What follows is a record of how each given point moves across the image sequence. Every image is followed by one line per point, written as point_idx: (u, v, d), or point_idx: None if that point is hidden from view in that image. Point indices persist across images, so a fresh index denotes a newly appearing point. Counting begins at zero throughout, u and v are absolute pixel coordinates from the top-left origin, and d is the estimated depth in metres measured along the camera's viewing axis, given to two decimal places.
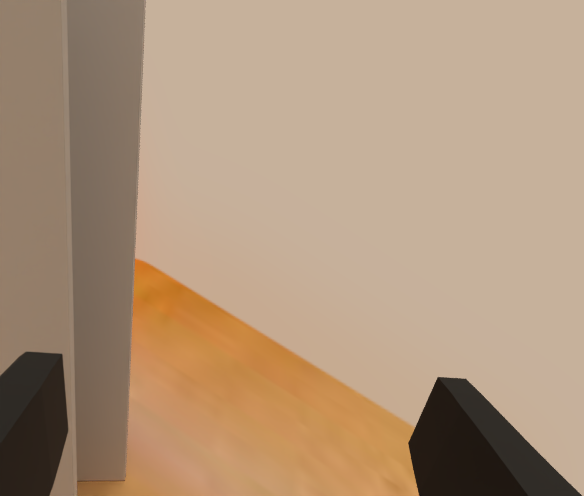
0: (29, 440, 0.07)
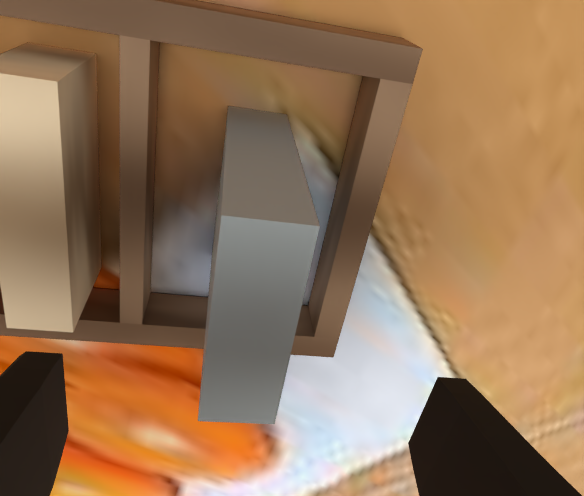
0: (29, 440, 0.07)
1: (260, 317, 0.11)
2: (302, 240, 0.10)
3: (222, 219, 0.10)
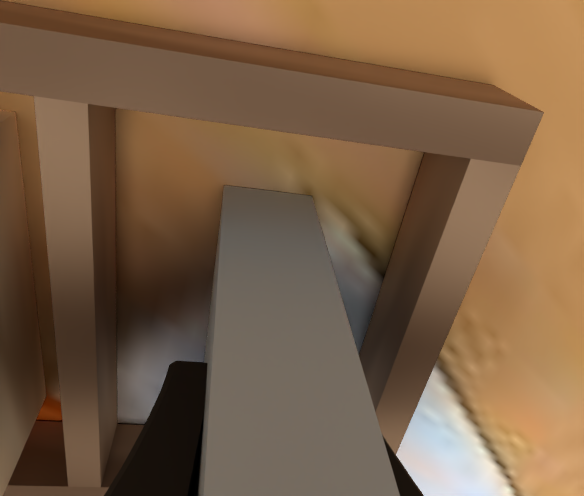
0: (199, 446, 0.08)
1: None
2: None
3: None
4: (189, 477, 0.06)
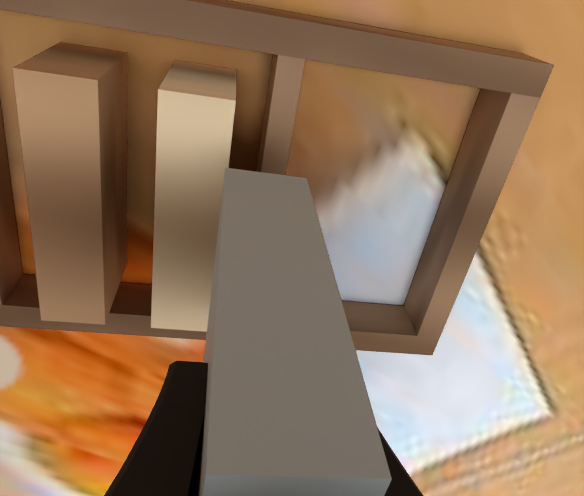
0: (199, 446, 0.08)
1: None
2: None
3: (207, 480, 0.05)
4: (189, 477, 0.06)
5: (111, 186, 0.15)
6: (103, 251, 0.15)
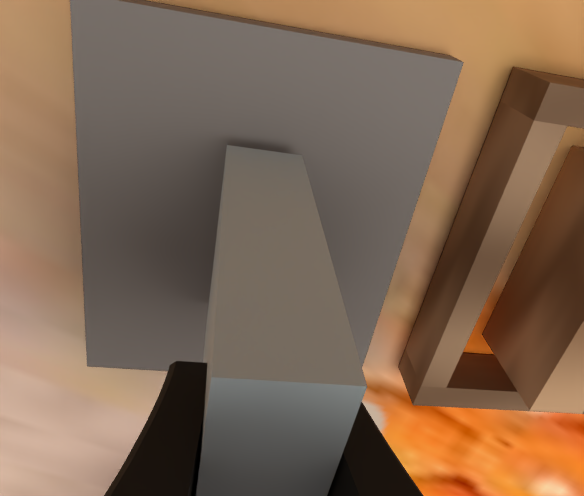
0: (199, 446, 0.08)
1: None
2: (339, 404, 0.07)
3: (213, 382, 0.06)
4: (189, 477, 0.06)
5: None
6: None
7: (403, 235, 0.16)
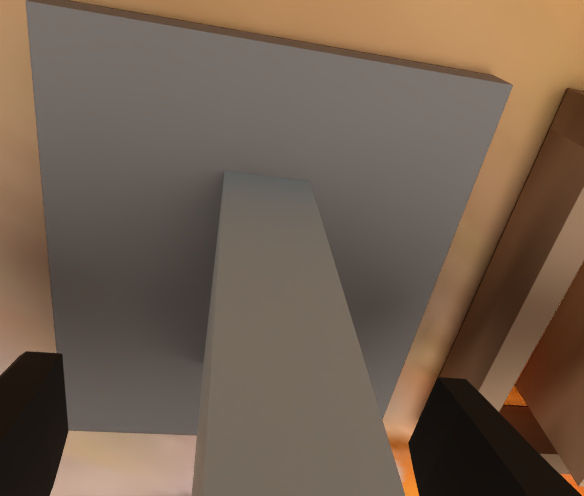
0: (29, 440, 0.07)
1: None
2: None
3: None
4: None
5: None
6: None
7: (432, 284, 0.13)
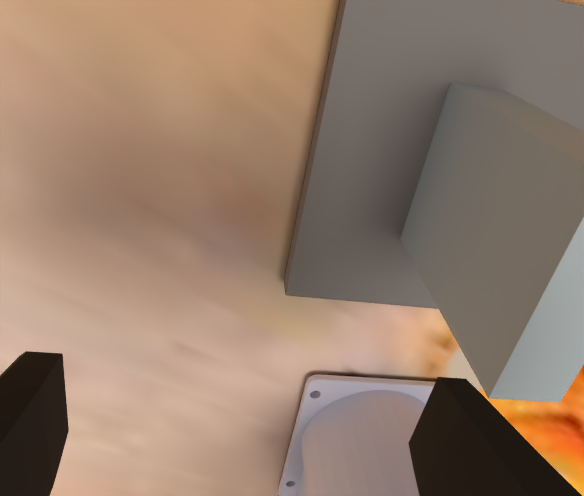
0: (29, 440, 0.07)
1: None
2: None
3: None
4: None
5: None
6: None
7: None
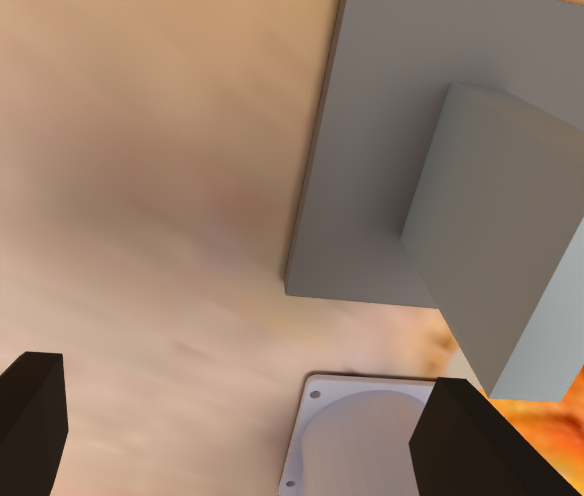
0: (29, 440, 0.07)
1: None
2: None
3: None
4: None
5: None
6: None
7: None
